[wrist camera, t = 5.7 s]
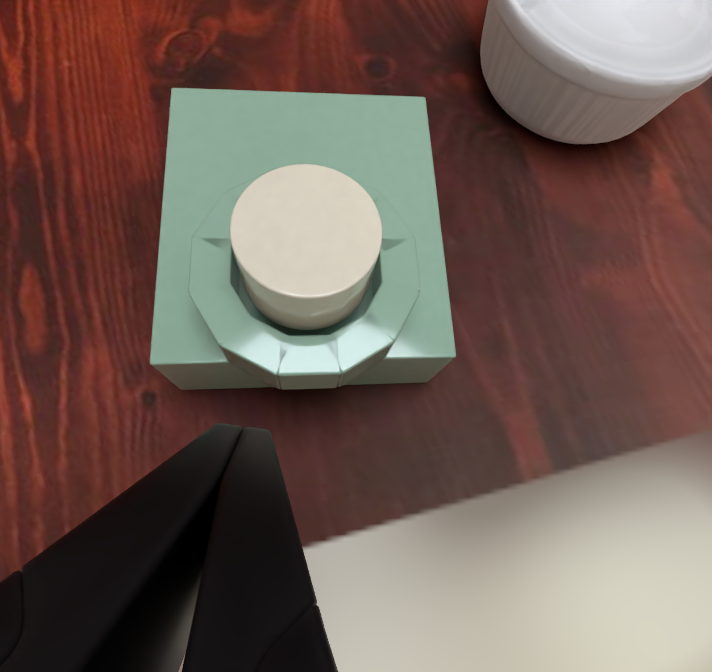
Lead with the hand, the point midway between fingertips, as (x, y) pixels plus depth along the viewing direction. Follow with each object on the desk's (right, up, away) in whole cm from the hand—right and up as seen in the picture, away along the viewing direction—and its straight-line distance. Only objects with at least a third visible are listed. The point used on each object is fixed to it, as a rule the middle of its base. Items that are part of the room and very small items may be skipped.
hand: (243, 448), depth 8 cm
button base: (0, +5, +14) cm, 14 cm away
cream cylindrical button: (0, +4, +7) cm, 8 cm away
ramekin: (+13, +16, +19) cm, 28 cm away
